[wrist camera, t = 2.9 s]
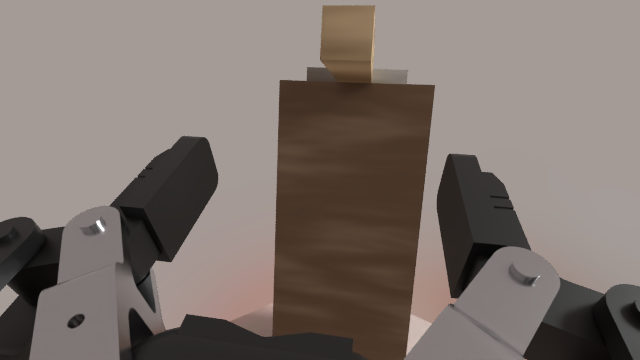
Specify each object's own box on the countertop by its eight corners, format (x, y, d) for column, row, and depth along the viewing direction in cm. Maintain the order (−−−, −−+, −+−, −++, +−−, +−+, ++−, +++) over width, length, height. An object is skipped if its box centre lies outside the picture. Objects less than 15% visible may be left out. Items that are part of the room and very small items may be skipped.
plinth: (302, 328, 47) (312, 96, 41) (388, 341, 45) (411, 100, 39) (270, 421, 32) (279, 80, 26) (396, 445, 30) (434, 85, 25)
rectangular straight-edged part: (326, 95, 39) (327, 72, 38) (395, 98, 38) (397, 74, 37) (269, 58, 17) (270, 5, 17) (426, 62, 16) (432, 5, 16)
